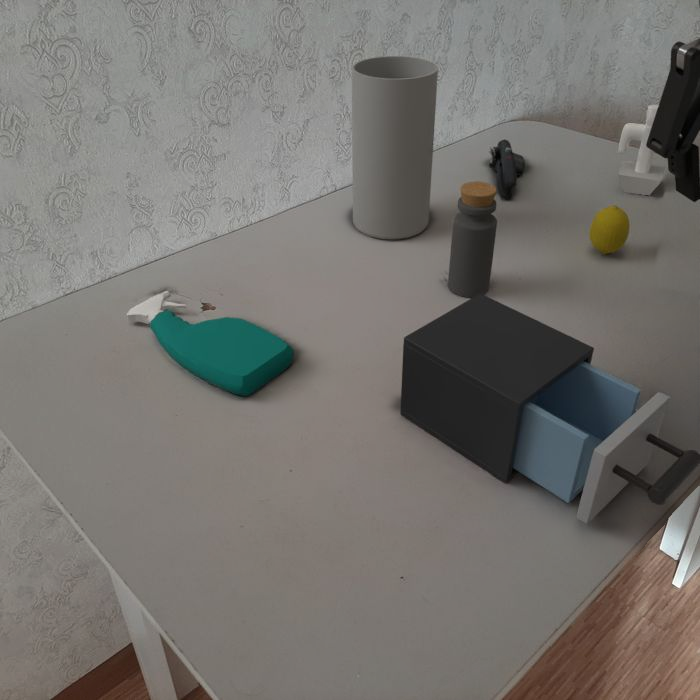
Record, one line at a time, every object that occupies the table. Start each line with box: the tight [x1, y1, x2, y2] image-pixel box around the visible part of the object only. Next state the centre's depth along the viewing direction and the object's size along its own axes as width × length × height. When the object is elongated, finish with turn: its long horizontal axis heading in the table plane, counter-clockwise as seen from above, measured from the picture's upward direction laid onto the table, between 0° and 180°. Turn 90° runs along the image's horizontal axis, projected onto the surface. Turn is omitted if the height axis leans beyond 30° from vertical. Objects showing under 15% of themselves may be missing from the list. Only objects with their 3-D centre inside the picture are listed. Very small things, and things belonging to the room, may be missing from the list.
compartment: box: [513, 361, 700, 525], centre depth 69 cm, size 18×11×9 cm, turn 43°
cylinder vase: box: [351, 55, 439, 240], centre depth 111 cm, size 12×12×25 cm
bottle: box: [447, 181, 498, 298], centre depth 98 cm, size 6×6×15 cm
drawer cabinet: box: [399, 294, 595, 485], centre depth 76 cm, size 15×13×11 cm
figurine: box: [617, 104, 682, 196], centre depth 125 cm, size 7×9×15 cm
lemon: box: [589, 204, 630, 255], centre depth 107 cm, size 6×6×8 cm
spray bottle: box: [126, 290, 295, 397], centre depth 91 cm, size 3×11×25 cm
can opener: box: [488, 139, 526, 201], centre depth 131 cm, size 18×7×6 cm, turn 171°
